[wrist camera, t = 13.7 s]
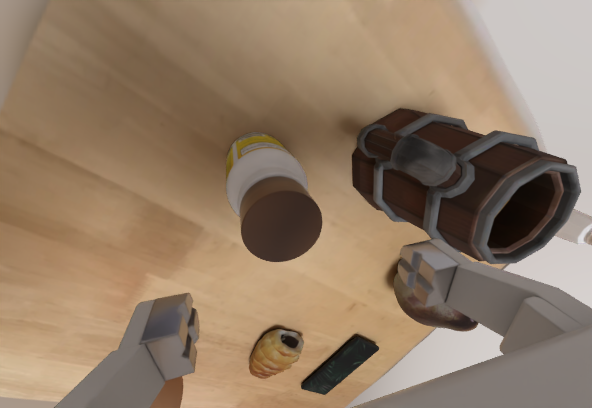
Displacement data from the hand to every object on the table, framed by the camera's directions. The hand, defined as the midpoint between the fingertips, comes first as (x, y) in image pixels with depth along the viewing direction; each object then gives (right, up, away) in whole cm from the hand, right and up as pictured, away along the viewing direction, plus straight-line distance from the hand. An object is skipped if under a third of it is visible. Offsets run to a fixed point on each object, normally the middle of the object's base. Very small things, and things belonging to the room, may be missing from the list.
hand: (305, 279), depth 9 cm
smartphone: (+8, -27, +36) cm, 46 cm away
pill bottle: (-4, +7, +16) cm, 18 cm away
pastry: (-4, -19, +29) cm, 36 cm away
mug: (+10, +9, +19) cm, 23 cm away
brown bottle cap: (-2, +3, +6) cm, 7 cm away
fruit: (+18, -8, +30) cm, 36 cm away
